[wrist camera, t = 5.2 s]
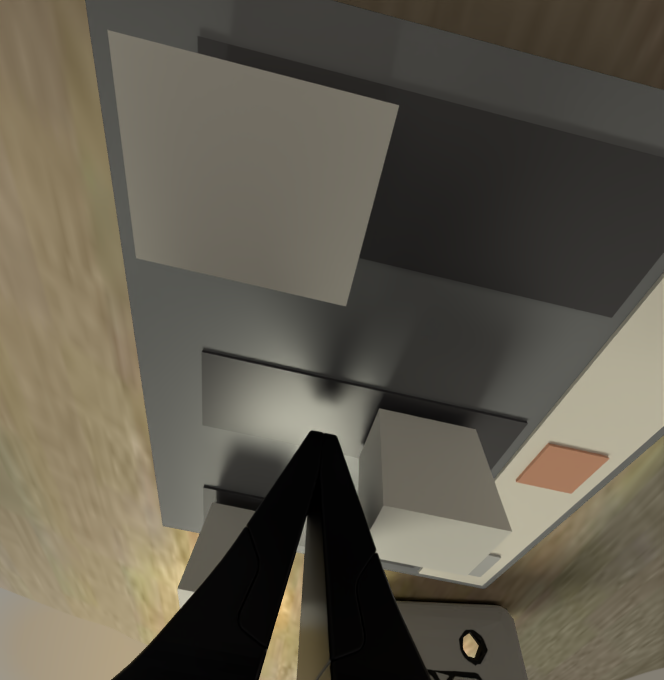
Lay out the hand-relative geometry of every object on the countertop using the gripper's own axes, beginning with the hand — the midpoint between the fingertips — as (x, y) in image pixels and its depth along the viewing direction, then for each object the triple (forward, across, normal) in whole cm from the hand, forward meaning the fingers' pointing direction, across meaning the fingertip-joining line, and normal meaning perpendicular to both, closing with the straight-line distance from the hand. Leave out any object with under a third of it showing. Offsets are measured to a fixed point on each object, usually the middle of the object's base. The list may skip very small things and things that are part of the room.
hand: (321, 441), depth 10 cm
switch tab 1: (+1, +2, -7) cm, 7 cm away
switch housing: (+3, -2, 0) cm, 3 cm away
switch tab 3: (+1, -3, 0) cm, 3 cm away
